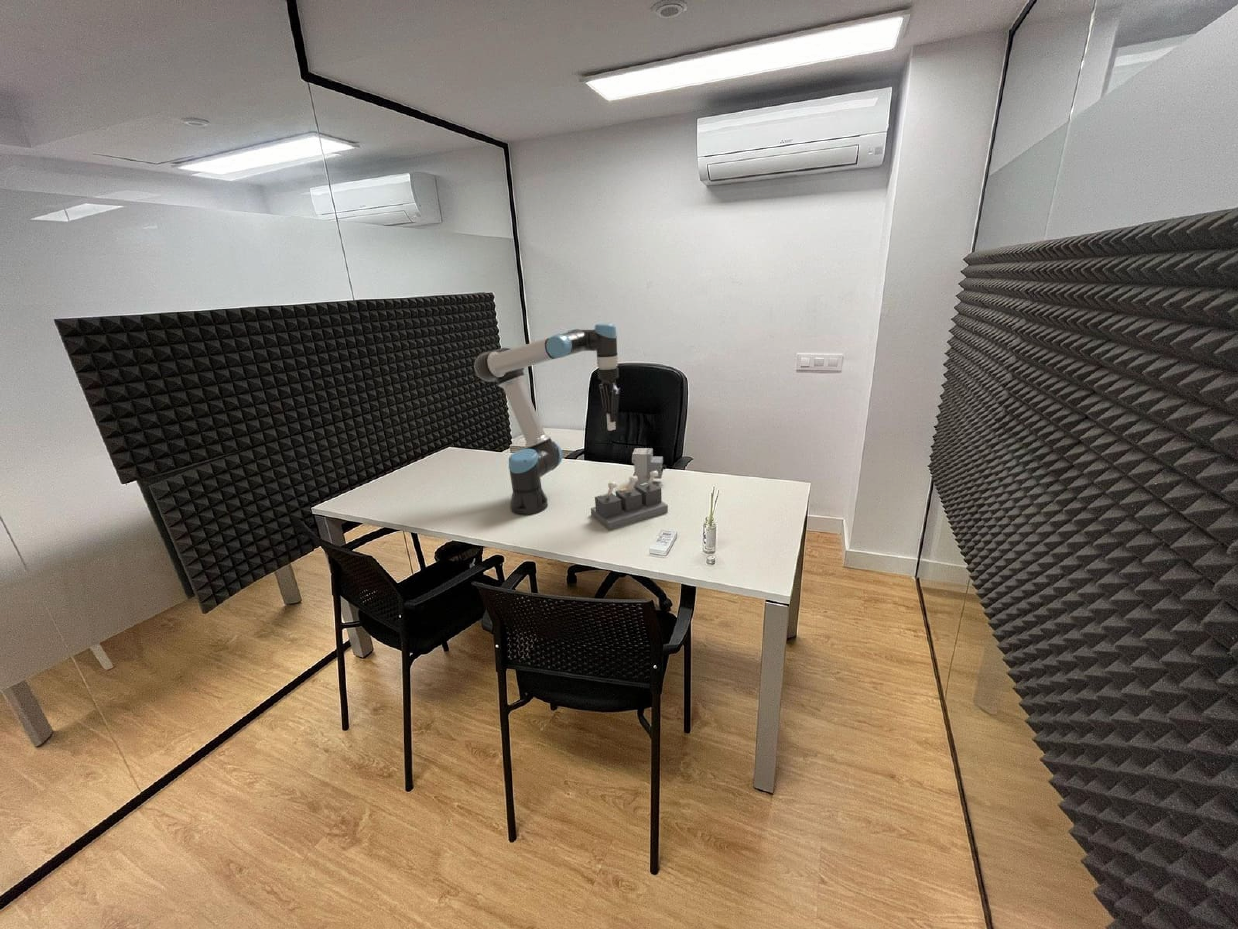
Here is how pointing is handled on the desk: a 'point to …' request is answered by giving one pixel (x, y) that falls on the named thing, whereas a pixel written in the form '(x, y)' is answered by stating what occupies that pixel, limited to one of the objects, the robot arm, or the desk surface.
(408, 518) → the desk surface
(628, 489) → the handle
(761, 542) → the desk surface
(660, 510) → the breaker board
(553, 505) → the desk surface
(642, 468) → the circuit breaker
